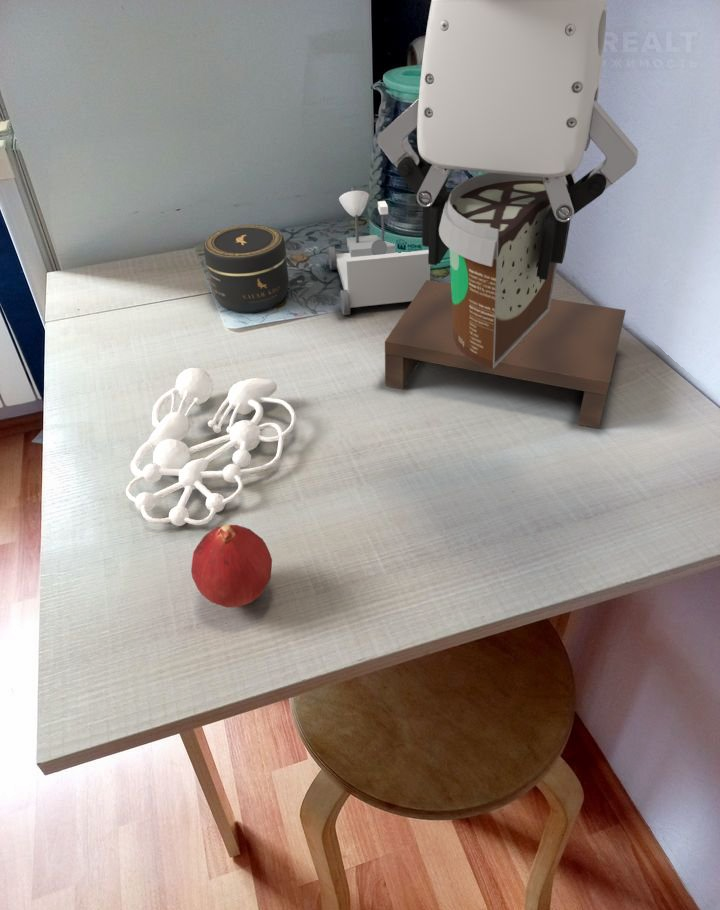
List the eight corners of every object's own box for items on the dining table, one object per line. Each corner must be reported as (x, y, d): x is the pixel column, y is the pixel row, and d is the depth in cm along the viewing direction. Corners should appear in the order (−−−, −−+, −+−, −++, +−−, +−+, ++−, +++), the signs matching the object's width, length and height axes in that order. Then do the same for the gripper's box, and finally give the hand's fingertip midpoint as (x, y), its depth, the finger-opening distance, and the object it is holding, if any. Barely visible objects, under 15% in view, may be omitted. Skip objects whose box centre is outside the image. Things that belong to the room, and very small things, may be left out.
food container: (484, 284, 57) (494, 155, 50) (557, 302, 54) (577, 168, 48) (403, 354, 49) (402, 213, 43) (482, 379, 46) (494, 233, 40)
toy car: (321, 185, 93) (408, 177, 94) (326, 255, 99) (407, 247, 100) (339, 242, 79) (440, 232, 80) (344, 319, 86) (437, 309, 87)
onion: (187, 616, 53) (164, 545, 48) (223, 561, 57) (206, 490, 52) (256, 638, 52) (240, 567, 46) (289, 579, 56) (278, 507, 50)
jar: (230, 324, 86) (220, 265, 81) (201, 291, 92) (190, 235, 87) (303, 301, 89) (298, 244, 84) (271, 271, 96) (264, 216, 91)
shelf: (615, 354, 78) (625, 309, 75) (598, 429, 68) (609, 382, 65) (425, 321, 85) (426, 279, 81) (385, 386, 75) (384, 341, 71)
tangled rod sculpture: (250, 552, 59) (246, 520, 56) (90, 520, 61) (79, 488, 58) (309, 409, 73) (309, 377, 70) (178, 386, 75) (172, 354, 72)
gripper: (701, -65, 37) (627, 256, 49) (386, -64, 42) (388, 227, 54) (699, -47, 32) (617, 308, 43) (339, -48, 37) (353, 271, 48)
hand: (491, 261), depth 48 cm, fingers closed on food container, 6 cm apart
